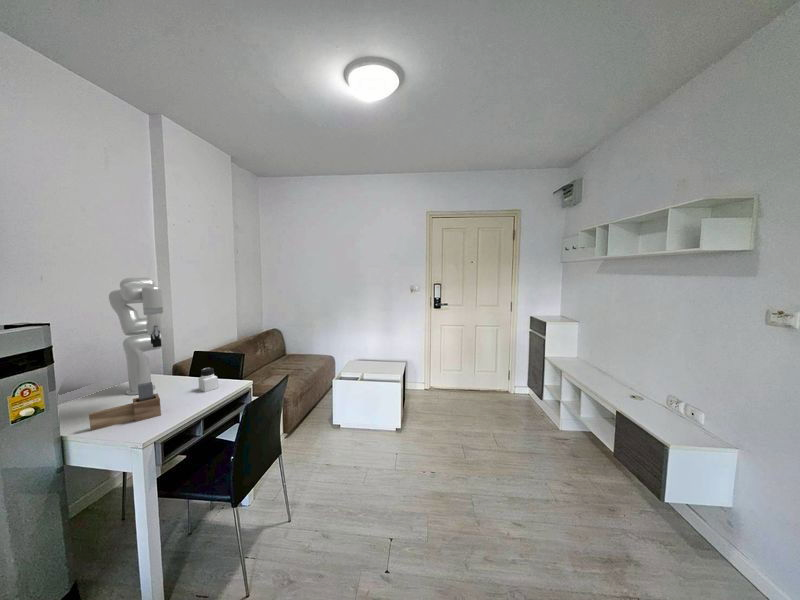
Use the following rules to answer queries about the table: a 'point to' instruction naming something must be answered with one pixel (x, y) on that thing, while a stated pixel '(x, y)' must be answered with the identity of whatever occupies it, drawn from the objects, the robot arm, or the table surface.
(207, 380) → the medicine bottle
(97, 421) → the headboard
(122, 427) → the table surface
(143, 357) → the robot arm
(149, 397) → the grey upright block
